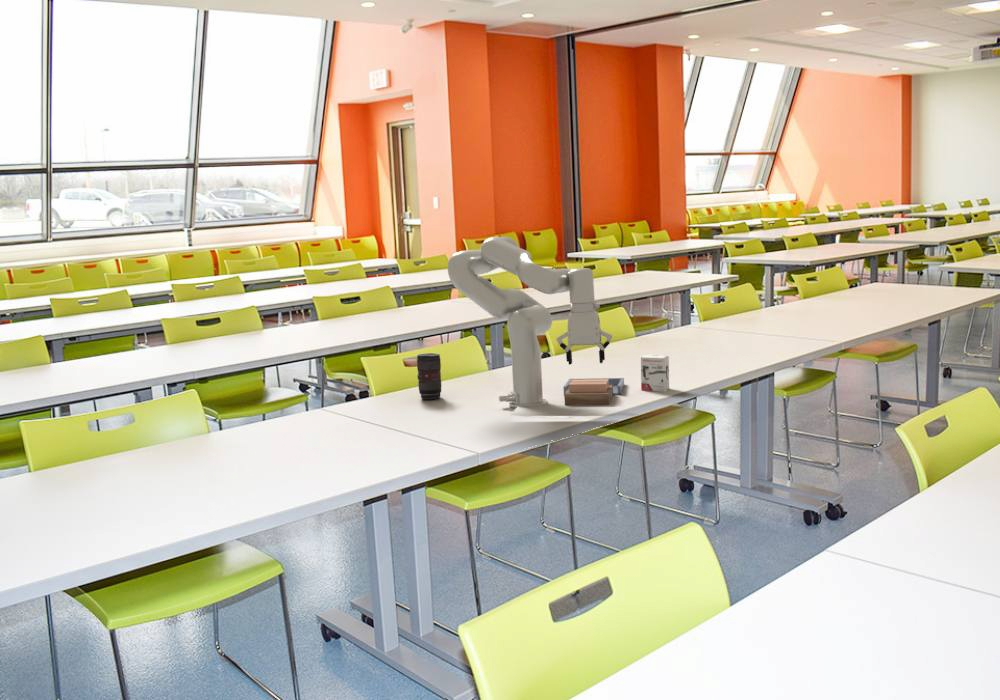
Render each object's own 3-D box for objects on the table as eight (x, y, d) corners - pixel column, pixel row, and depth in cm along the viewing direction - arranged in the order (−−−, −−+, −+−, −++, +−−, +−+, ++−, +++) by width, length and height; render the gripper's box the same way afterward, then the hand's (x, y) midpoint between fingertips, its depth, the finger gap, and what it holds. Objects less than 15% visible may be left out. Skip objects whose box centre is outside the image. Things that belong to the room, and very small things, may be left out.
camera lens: (439, 399, 305) (436, 355, 303) (416, 399, 307) (413, 356, 305) (445, 395, 313) (442, 352, 311) (423, 395, 314) (420, 353, 312)
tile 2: (607, 388, 290) (607, 381, 289) (570, 389, 292) (570, 381, 292) (608, 386, 294) (608, 379, 293) (572, 387, 296) (572, 379, 296)
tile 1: (606, 391, 285) (606, 384, 284) (568, 392, 287) (568, 384, 287) (607, 389, 289) (607, 381, 288) (570, 389, 291) (570, 382, 291)
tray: (620, 394, 297) (620, 386, 296) (563, 395, 301) (563, 386, 300) (624, 386, 312) (623, 377, 312) (569, 387, 316) (569, 378, 316)
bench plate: (609, 404, 282) (608, 393, 281) (564, 405, 285) (564, 394, 284) (613, 395, 297) (612, 384, 297) (571, 395, 300) (570, 385, 300)
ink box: (640, 391, 302) (639, 356, 300) (645, 388, 306) (644, 354, 304) (665, 392, 297) (664, 357, 296) (669, 389, 302) (669, 355, 300)
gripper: (611, 306, 278) (614, 360, 280) (556, 308, 282) (559, 362, 284) (609, 308, 271) (612, 364, 273) (553, 311, 275) (556, 366, 277)
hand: (585, 363), depth 279 cm, fingers open, 9 cm apart
